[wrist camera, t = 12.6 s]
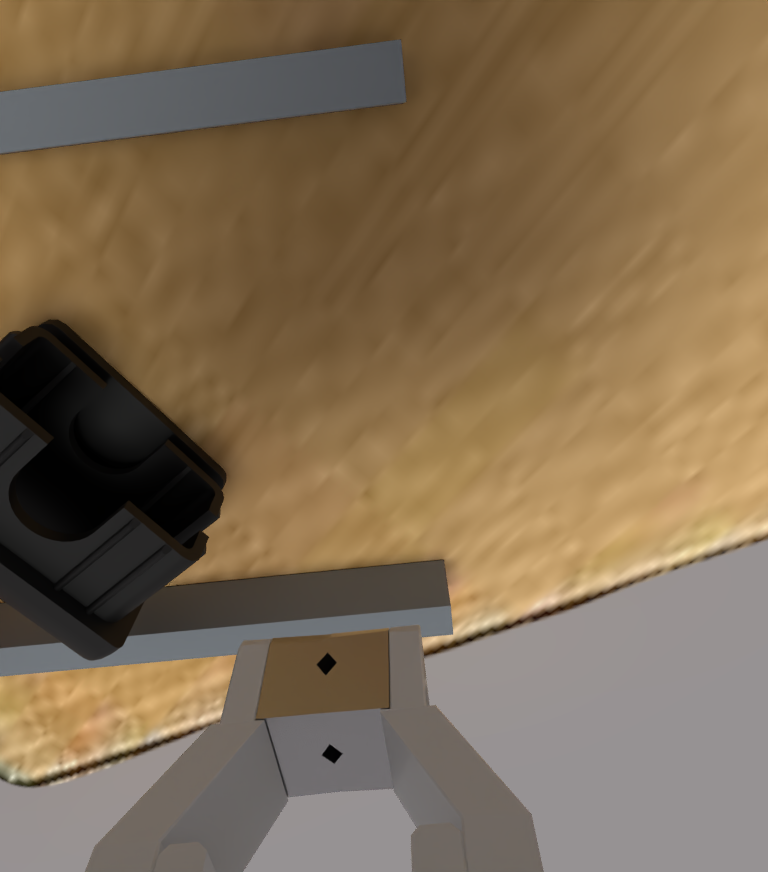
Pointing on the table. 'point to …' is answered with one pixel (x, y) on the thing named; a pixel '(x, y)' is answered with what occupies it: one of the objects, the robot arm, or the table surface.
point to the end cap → (91, 492)
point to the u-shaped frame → (249, 598)
